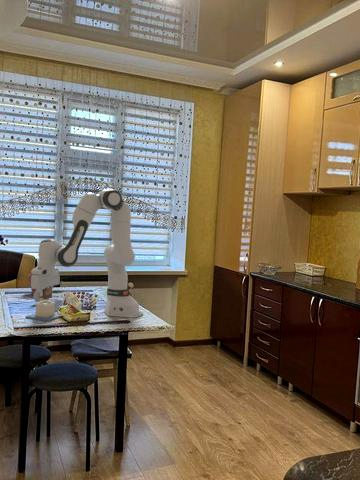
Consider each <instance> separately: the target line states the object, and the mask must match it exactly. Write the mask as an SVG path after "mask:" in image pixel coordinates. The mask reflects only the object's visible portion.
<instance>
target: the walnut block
mask: <svg viewBox="0 0 360 480" xmlns="http://www.w3.org/2000/svg"><path fill="white" fill-rule="evenodd" d="M42 291H43V293H44V296H40V295H39V298H41V299H49V300H50V299H52V298H53V289H52V288H49V287H48V288H43V290H42ZM39 294H40V293H39Z"/></svg>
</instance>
